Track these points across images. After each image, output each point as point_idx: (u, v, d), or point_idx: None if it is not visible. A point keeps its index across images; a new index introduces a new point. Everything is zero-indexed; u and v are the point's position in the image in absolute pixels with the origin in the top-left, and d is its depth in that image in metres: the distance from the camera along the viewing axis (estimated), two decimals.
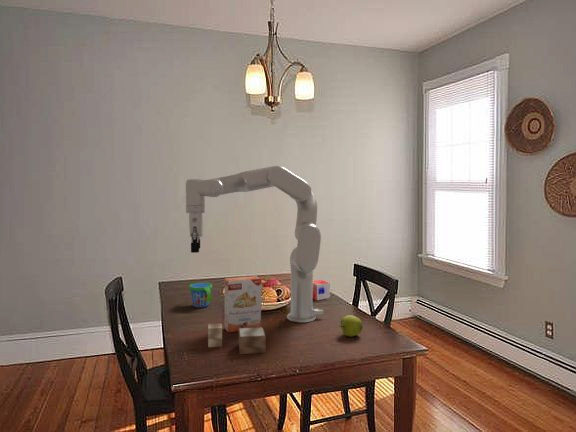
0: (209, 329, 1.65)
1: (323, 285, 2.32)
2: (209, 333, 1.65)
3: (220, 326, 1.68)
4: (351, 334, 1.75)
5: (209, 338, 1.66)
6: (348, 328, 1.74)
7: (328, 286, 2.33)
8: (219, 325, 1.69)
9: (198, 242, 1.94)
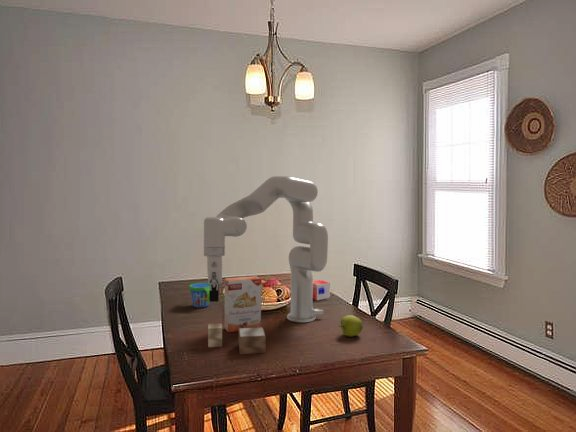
0: (209, 329, 1.65)
1: (323, 285, 2.32)
2: (209, 333, 1.65)
3: (220, 326, 1.68)
4: (351, 334, 1.75)
5: (209, 338, 1.66)
6: (348, 328, 1.74)
7: (328, 286, 2.33)
8: (219, 325, 1.69)
9: None
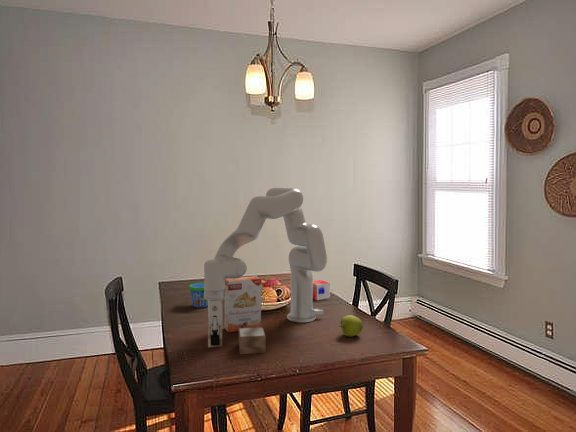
0: (209, 329, 1.65)
1: (323, 285, 2.32)
2: (209, 333, 1.65)
3: (220, 326, 1.68)
4: (351, 334, 1.75)
5: (209, 338, 1.66)
6: (348, 328, 1.74)
7: (328, 286, 2.33)
8: None
9: None
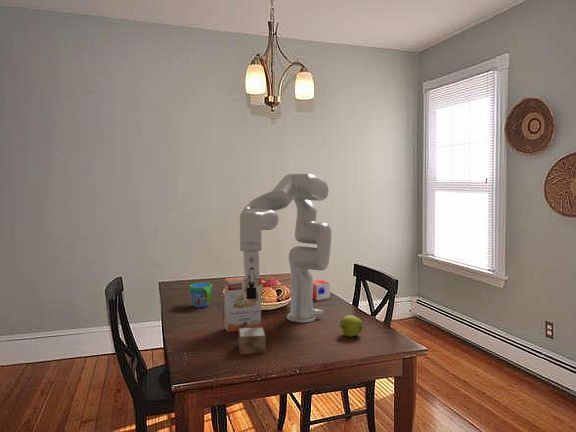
0: (245, 282, 1.60)
1: (323, 285, 2.32)
2: (245, 286, 1.60)
3: (256, 279, 1.62)
4: (351, 334, 1.75)
5: (245, 291, 1.60)
6: (348, 328, 1.74)
7: (328, 286, 2.33)
8: (255, 279, 1.63)
9: None
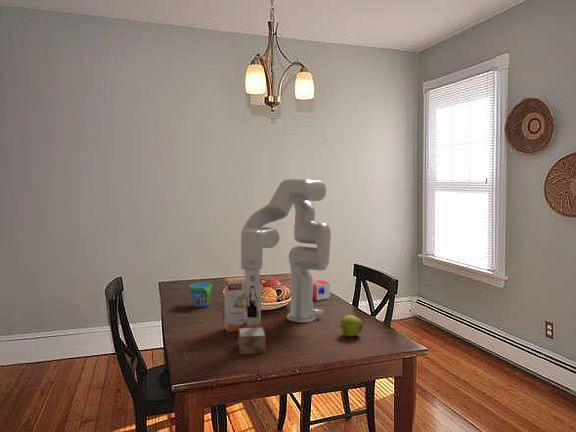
0: (246, 300, 1.60)
1: (323, 285, 2.32)
2: (246, 304, 1.60)
3: (257, 297, 1.62)
4: (351, 334, 1.75)
5: (246, 309, 1.60)
6: (348, 328, 1.74)
7: (328, 286, 2.33)
8: None
9: None
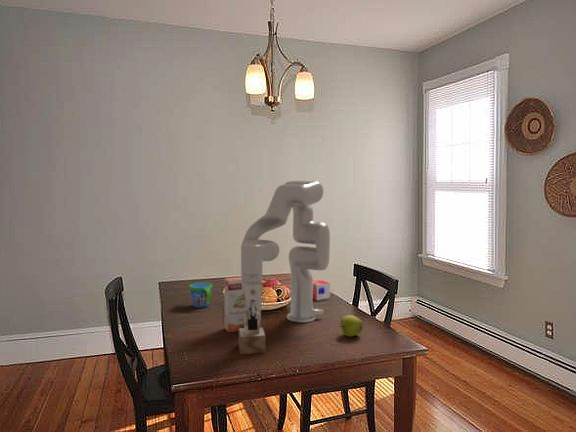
0: (246, 315, 1.61)
1: (323, 285, 2.32)
2: (246, 320, 1.61)
3: (257, 313, 1.63)
4: (351, 334, 1.75)
5: (246, 325, 1.61)
6: (348, 328, 1.74)
7: (328, 286, 2.33)
8: None
9: None
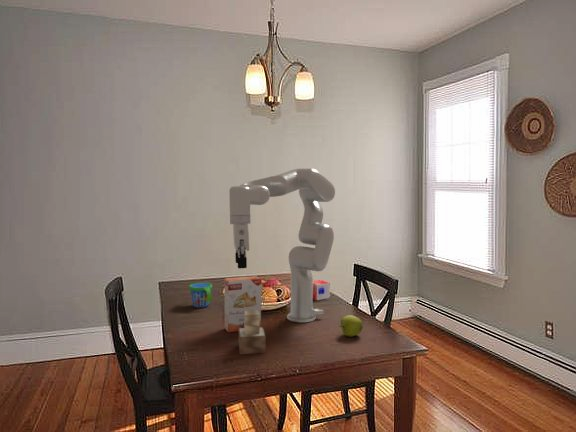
0: (246, 315, 1.61)
1: (323, 285, 2.32)
2: (246, 320, 1.61)
3: (257, 313, 1.63)
4: (351, 334, 1.75)
5: (246, 325, 1.61)
6: (348, 328, 1.74)
7: (328, 286, 2.33)
8: (256, 312, 1.64)
9: None
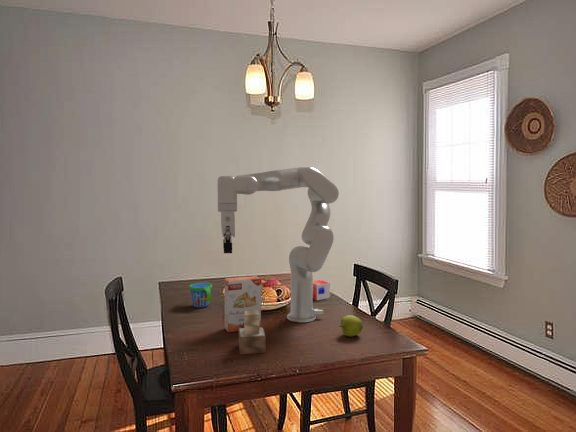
0: (246, 315, 1.61)
1: (323, 285, 2.32)
2: (246, 320, 1.61)
3: (257, 313, 1.63)
4: (351, 334, 1.75)
5: (246, 325, 1.61)
6: (348, 328, 1.74)
7: (328, 286, 2.33)
8: (256, 312, 1.64)
9: None
